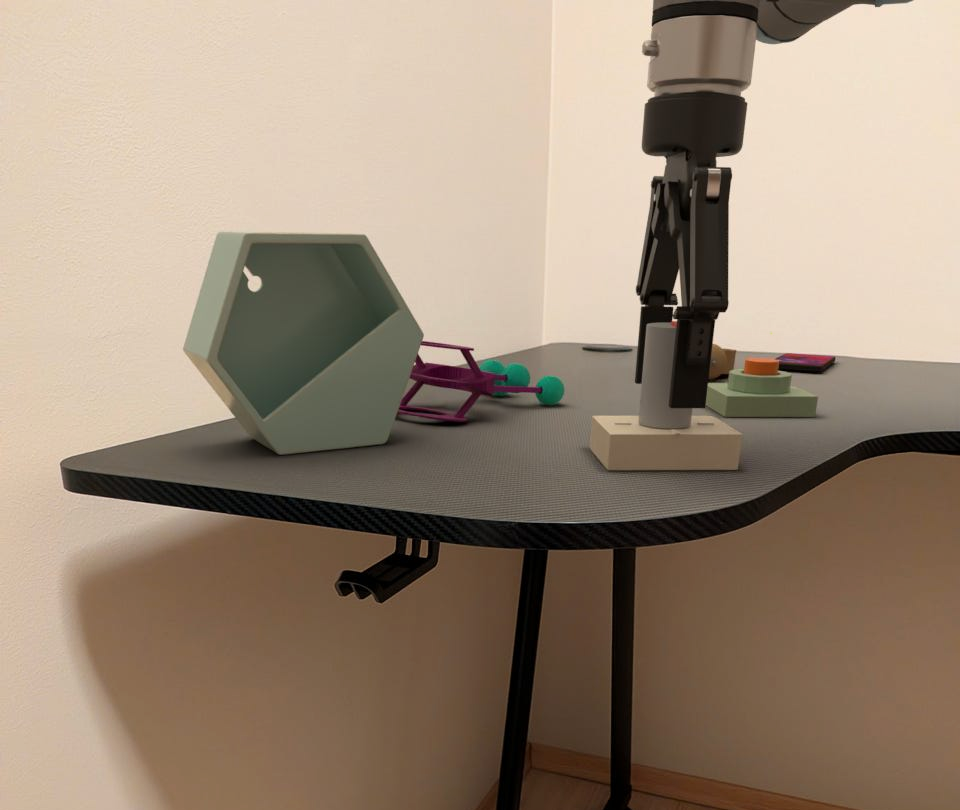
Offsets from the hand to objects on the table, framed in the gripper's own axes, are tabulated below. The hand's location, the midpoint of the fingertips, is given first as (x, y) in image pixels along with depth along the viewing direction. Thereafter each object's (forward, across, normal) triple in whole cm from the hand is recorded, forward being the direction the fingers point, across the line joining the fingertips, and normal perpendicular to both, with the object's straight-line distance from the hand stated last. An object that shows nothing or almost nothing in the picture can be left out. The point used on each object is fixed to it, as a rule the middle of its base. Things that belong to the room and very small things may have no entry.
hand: (667, 394), depth 76 cm
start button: (+2, -24, +17) cm, 29 cm away
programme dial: (+2, 0, 0) cm, 2 cm away
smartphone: (+5, -60, +36) cm, 71 cm away
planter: (+6, -7, -31) cm, 32 cm away
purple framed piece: (+6, -24, -15) cm, 29 cm away
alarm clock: (+6, -50, +16) cm, 53 cm away
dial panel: (+5, 0, 0) cm, 5 cm away
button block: (+5, -24, +17) cm, 30 cm away
